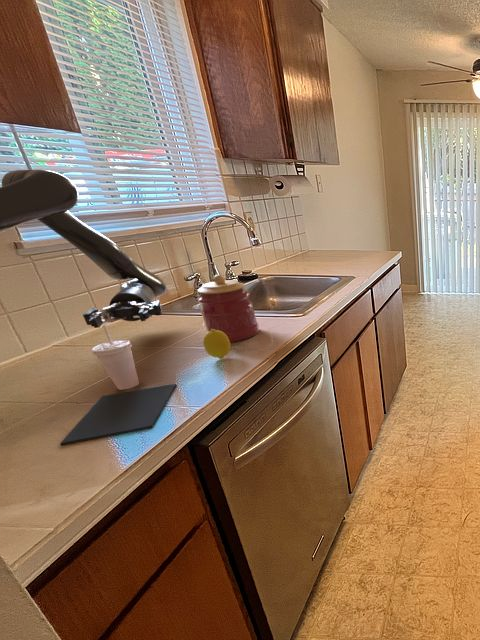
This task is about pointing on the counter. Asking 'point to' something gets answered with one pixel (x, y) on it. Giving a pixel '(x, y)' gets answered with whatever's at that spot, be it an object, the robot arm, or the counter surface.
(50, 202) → the robot arm
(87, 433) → the mat
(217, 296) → the kitchen canister
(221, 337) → the lemon
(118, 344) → the smoothie
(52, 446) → the counter surface
